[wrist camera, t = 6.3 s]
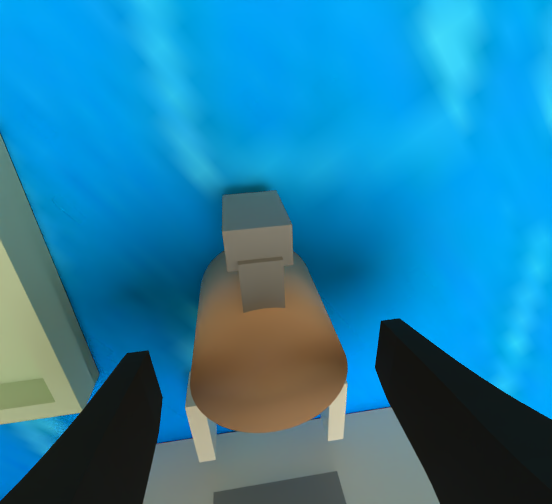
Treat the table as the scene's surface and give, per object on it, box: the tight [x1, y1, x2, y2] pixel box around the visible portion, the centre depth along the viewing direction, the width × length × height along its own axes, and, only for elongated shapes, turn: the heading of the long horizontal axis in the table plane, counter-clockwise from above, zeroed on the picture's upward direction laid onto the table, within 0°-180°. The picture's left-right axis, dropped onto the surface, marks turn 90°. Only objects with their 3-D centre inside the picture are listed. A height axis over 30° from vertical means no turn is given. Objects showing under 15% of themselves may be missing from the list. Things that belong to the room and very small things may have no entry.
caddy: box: [190, 190, 347, 433], centre depth 12 cm, size 5×7×5 cm, turn 3°
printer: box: [143, 371, 440, 504], centre depth 15 cm, size 18×7×6 cm, turn 93°
